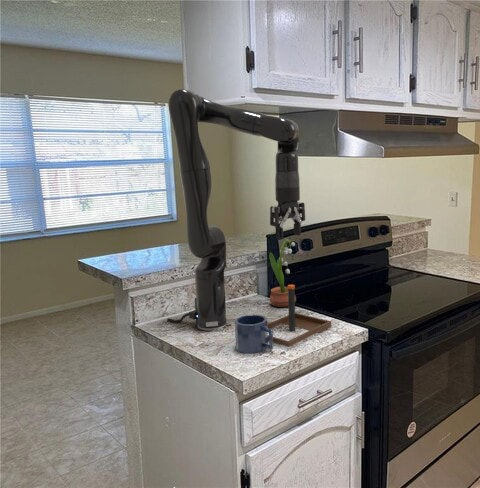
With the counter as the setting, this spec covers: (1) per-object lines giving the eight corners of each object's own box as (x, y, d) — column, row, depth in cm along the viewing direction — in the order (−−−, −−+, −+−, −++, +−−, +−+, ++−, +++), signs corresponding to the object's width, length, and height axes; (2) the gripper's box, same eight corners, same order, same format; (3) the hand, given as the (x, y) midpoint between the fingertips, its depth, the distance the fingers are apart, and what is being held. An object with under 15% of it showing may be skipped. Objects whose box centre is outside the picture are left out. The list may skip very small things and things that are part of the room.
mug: (229, 350, 143) (228, 321, 141) (251, 340, 150) (250, 312, 148) (261, 361, 135) (260, 330, 134) (283, 350, 143) (282, 320, 141)
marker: (287, 331, 156) (286, 285, 153) (291, 329, 158) (290, 284, 155) (292, 332, 155) (291, 286, 152) (296, 330, 157) (295, 285, 154)
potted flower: (286, 297, 193) (284, 234, 188) (305, 302, 187) (304, 237, 182) (264, 305, 184) (261, 239, 179) (283, 310, 178) (281, 242, 173)
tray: (250, 337, 153) (250, 331, 152) (294, 317, 170) (294, 312, 169) (288, 348, 144) (288, 342, 143) (331, 327, 161) (331, 321, 160)
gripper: (292, 183, 160) (293, 232, 163) (262, 186, 148) (264, 239, 152) (311, 184, 155) (311, 235, 159) (281, 187, 144) (282, 242, 147)
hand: (288, 237), depth 155 cm, fingers open, 8 cm apart
